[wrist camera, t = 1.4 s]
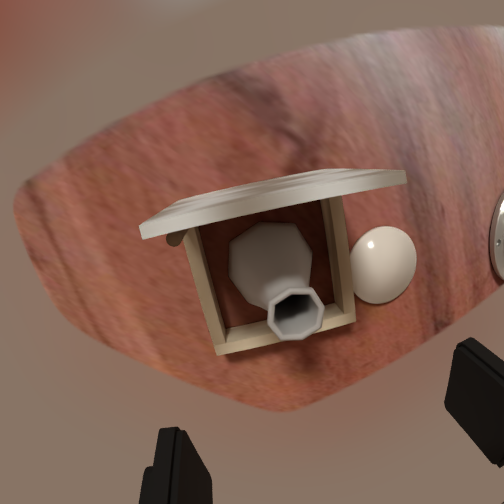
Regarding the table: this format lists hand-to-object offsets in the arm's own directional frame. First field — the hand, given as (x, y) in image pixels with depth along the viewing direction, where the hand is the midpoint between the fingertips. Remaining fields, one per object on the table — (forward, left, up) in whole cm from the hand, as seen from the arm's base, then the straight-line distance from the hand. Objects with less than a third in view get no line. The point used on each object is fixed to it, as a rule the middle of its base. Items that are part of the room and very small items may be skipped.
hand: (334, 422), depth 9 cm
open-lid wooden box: (0, 0, -18) cm, 18 cm away
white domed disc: (-10, +3, -18) cm, 21 cm away
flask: (0, 0, -18) cm, 18 cm away
